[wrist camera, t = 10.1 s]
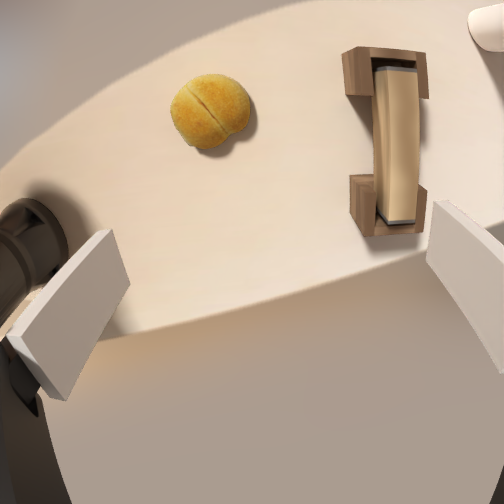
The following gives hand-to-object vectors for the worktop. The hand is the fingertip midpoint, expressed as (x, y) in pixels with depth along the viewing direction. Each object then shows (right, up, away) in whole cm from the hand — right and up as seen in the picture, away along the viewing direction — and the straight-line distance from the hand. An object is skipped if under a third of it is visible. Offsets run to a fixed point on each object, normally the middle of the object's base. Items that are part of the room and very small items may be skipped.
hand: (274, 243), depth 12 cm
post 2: (+15, +7, +25) cm, 30 cm away
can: (+30, +30, +13) cm, 44 cm away
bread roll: (-6, +16, +22) cm, 28 cm away
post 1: (+13, +20, +18) cm, 30 cm away
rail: (+14, +12, +19) cm, 27 cm away
